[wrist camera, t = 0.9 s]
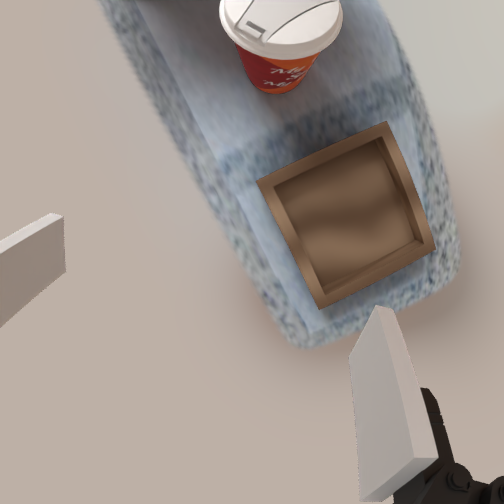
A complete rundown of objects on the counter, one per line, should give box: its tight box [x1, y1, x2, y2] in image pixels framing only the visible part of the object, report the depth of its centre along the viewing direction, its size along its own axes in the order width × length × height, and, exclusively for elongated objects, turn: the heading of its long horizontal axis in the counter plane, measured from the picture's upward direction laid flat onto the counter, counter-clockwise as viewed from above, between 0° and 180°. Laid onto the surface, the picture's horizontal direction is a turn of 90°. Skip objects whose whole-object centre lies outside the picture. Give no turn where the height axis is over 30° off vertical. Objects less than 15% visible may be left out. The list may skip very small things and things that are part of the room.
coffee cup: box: [219, 0, 343, 94], centre depth 22 cm, size 8×8×15 cm
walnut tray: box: [256, 121, 436, 310], centre depth 32 cm, size 14×14×3 cm
